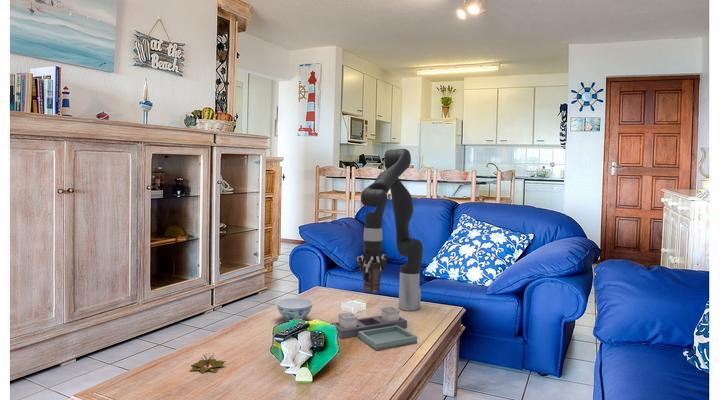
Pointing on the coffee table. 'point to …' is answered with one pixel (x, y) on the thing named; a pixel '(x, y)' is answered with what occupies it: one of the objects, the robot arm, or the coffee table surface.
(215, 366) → the lily flower
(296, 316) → the chinaware
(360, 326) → the slot holder
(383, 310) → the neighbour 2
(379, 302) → the coffee table surface
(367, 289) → the box
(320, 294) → the coffee table surface
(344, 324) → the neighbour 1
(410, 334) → the tray
